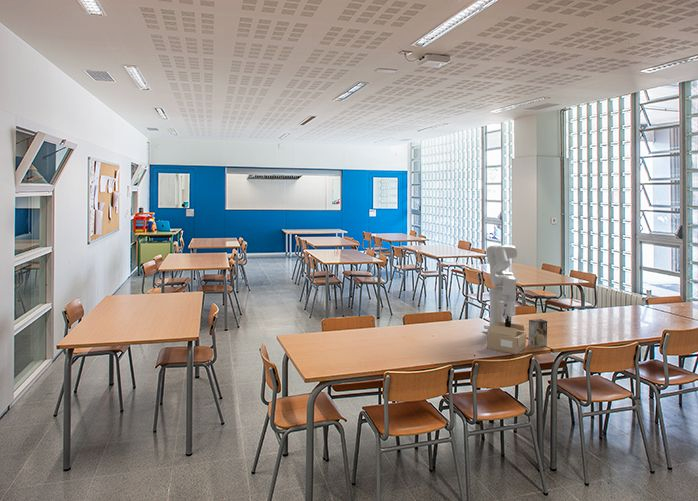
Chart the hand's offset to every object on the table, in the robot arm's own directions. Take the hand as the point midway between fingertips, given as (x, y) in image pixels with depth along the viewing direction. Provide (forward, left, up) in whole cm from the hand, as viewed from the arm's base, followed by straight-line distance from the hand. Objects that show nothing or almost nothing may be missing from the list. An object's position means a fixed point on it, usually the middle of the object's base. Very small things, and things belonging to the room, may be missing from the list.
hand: (507, 327), depth 305 cm
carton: (0, -2, -13) cm, 13 cm away
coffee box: (+13, +16, -13) cm, 25 cm away
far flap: (0, +5, -1) cm, 5 cm away
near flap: (0, -8, -1) cm, 8 cm away
